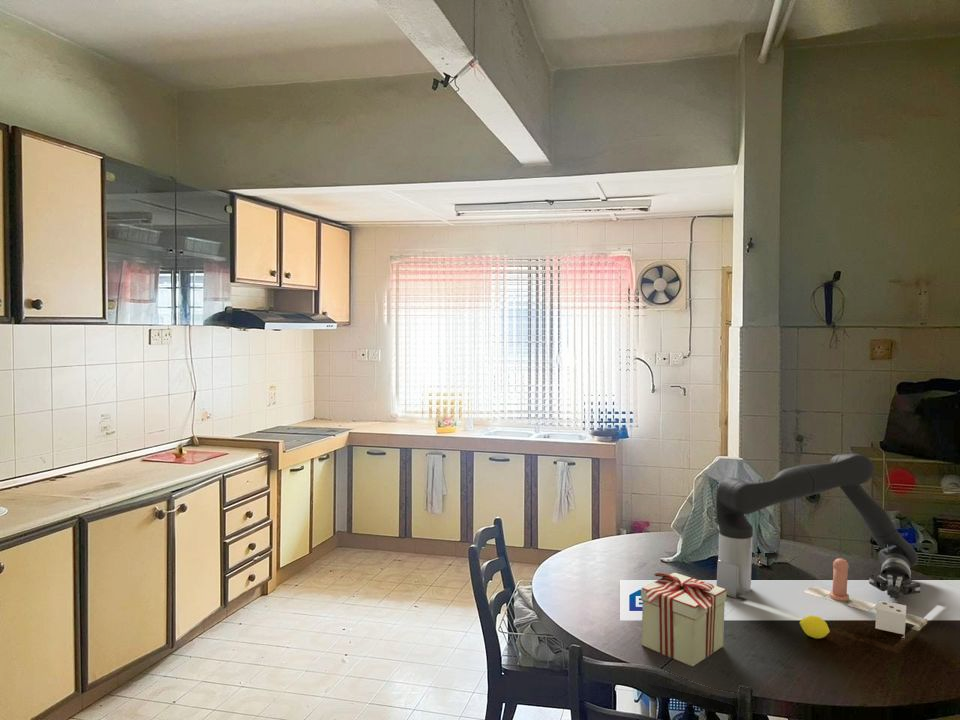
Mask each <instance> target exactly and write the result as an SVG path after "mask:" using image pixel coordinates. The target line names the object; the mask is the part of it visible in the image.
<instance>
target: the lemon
mask: <svg viewBox="0 0 960 720" xmlns="http://www.w3.org/2000/svg"><path fill="white" fill-rule="evenodd" d="M799 626H800V627H801V629H802V631H803V632H804V633H805V634H806V635H807V636H808V637H811V638H812V639H823V638H825V637H826V636H827V635H828V634H829V633H830V632H831V631H830V628H829V626H828V624H827V622H826V621H825V620H824V619H823V618H821V617H820V616H817V615H808V616H805V617H804V618H803V619H802V620H800V621H799Z"/></svg>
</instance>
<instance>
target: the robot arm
mask: <svg viewBox="0 0 960 720" xmlns="http://www.w3.org/2000/svg"><path fill="white" fill-rule="evenodd" d="M874 474H875V466H874V463H873V461H872V460H871V459H870V458H869V457H868V456H866V455H864V454H861V453H840V454H835V455H834V456H833V457H831V458H830V461H829V462H828V463H827V462H826V463H809V464H800V465H796V466H792V467H789V468H785V469H782V470H780V471H778V472H777V474H775V476H774V477H773V478H771V479H770V480H766V481H761V482H748V481H745V480H742V479H738V478H735V477H727V478H724V479H723V480H722V481H720V483H719V485H718V487H717V490H716V499H715V501H716V502H715V503H716V508H715V510H716V523H717V525H718V529H719V530H718V556H717V558H718V559H717V565H716V586H718V587H721V588H724V589H726V596H727V595H728V596H727V597H731V598H734V599H737V598H740V596H742V595H744V594H748V593H750V592H751V590H752V589H751V585H752V562H753V561H752V560H753V539H754V538H753V533H754V532H753V531H754V530H753V529H754V528H753V526H752V524H751V523H750V522H749V520H748V519H747V517H746V515H750V514H752V513H756V512H759V511H761V510H764V509H766V508H768V507H771V506H773V505H777V504H778V505H779V504H781V503H786V502H789V501H795V500H799V499H802V498H807V497H810V496H814V495H817V494H819V493H824V492H827V491H829V490H832V489H835V488H840V490H841V491H842V492H843V493H844V495H845V496H846V497H847V499H848V500H849V501H850V503H851V504H852V505H853V506H854V508H855V509H856V510H857V512H858V513H859V514H860V516H861V518H862V519H863V521H864V522H865V525H866V527H867V528H868V530H869V533H870V534H871V536H872V538H873V540H874V541H875V542H876V543H877V544H879V545H892V546H889V547H885V548H882V549H881V550H879V551H878V554H877V556H878V561H879V563H880V565H881V569H880V573H879V574H878V575H877V576H876V575H874V574H869V580H868V581H869V582H868V583H869V584H870V585H871V586H872V587H874V588H877V590H880V591H881V592H887V593H886V594H887V596H889V598H893V599H897V598H899V597H900V594H902V595H903V596H910V595H911V596H912V595H917V594H921V583H919V582H913V581H912V580H911V579H912V576H911V575H912V572H911V567H915V566H916V565H917V564H918V563H919V556H918V553H917V552H916V550H915V548H914V547H913V546H912V545H911V544H910V543H909V542H908V541H907V540H906V539H905V538H904V537H903V536H902V535H901V534H900V532H899V531H898V529H897V527H896V526H895V524H894V522H893V521H892V518H891V517H890V515H889V513H888V512H887V511H886V509H884V508H883V507H882V506H881V504H879V503H878V501H876V500H875V499H874V498H873V497H871V496H870V494H869V493H868V492H867V491H866V490H865V489H864V488H863V487H862V485H861V484H866V483H867V482H868V481H870V479H871V478H872V477H873V475H874Z"/></svg>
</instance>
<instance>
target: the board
mask: <svg viewBox="0 0 960 720" xmlns="http://www.w3.org/2000/svg"><path fill="white" fill-rule="evenodd" d="M830 592H831V591H830V590H826V589H823V588H820V587H816V586H810V587H809V588H807V589H805V590H804V591H803V593H805V594H808V595H811V596H815V597H818V598H821V599H823V598H824V599H825V600H828V601H832V602H835V603H839V604H842V605H846V606H849V607H852V608H855V609H859V610H862V611H865V612H869V613H872V614H875V615H876V608H877V603H872V602H868V601H865V600H861V599H859V598H855V597H852V596H849V601H847V602H840V601H836V600H833V599H831V598H830ZM905 624H909V625H913V626H912V627H911V630H914V631H917V632H919V631H921V629H923V627H924V626H926V625H927V624H928V619H927V618H925V617H921V616H917V615H914V614H911V613H907V612H906V623H905Z"/></svg>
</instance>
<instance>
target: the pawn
mask: <svg viewBox="0 0 960 720" xmlns="http://www.w3.org/2000/svg"><path fill="white" fill-rule="evenodd" d="M832 566H833V567H832V568H833V571H832V573H833V574H832V576H833V577H832V590H831V591H830V594H829V595H830V598H831V599H833V600H836V601H840V602H847V601H849V597H850V595H849V594H848V593H847V592H848V576H849V575H848V574H849V572H848V571H849V567H850V565H849V563H848V561H847V560H846V559H844V558H843V557H841V558H835V560H833V562H832Z"/></svg>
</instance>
